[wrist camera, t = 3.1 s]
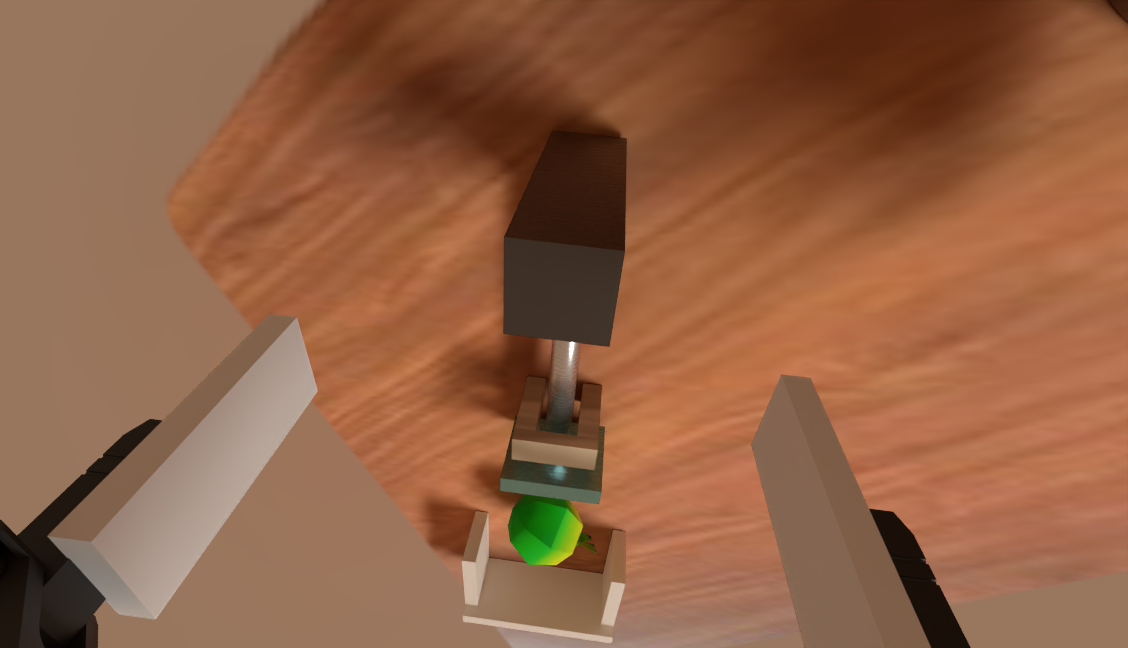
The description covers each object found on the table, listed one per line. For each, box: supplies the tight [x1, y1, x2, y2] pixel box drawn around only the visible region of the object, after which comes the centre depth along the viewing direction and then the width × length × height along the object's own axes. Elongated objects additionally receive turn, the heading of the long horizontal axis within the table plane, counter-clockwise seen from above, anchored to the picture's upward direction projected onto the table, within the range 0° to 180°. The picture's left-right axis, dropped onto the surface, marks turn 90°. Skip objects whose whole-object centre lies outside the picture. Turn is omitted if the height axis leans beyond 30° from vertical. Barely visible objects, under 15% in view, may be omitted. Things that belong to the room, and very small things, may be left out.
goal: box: [462, 511, 626, 643], centre depth 49 cm, size 9×14×6 cm, turn 86°
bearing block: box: [512, 376, 602, 470], centre depth 36 cm, size 2×6×6 cm, turn 86°
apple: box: [508, 494, 597, 565], centre depth 45 cm, size 7×6×9 cm
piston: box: [500, 131, 627, 504], centre depth 29 cm, size 23×7×13 cm, turn 176°
